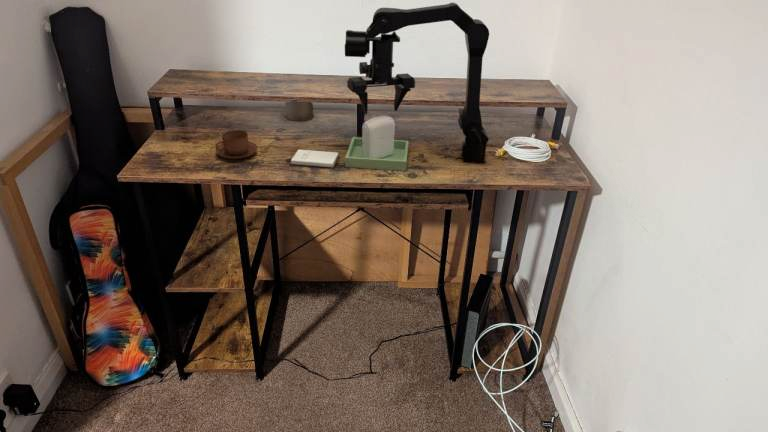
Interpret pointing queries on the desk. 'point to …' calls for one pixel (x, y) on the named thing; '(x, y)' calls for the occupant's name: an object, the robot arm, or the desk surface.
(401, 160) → the tray
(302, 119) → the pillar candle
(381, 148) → the white rounded tower
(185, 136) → the desk surface
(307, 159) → the hard drive
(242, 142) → the cup and saucer
